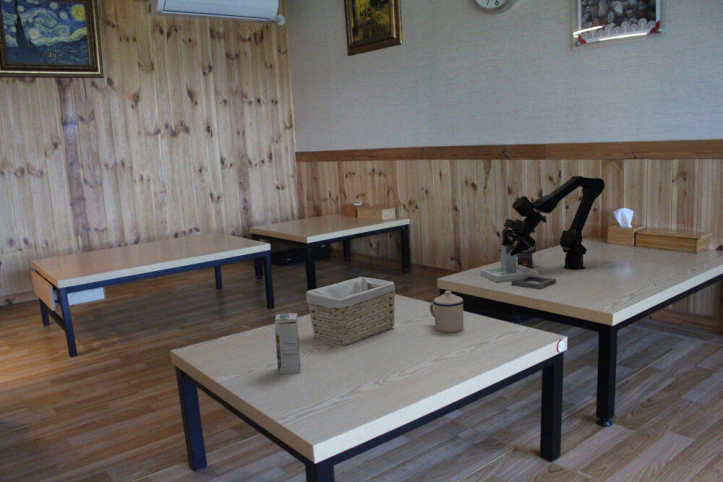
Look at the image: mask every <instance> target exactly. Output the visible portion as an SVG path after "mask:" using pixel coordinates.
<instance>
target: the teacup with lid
mask: <svg viewBox="0 0 723 482" xmlns="http://www.w3.org/2000/svg"><path fill="white" fill-rule="evenodd" d="M464 303H465V302H464V299H463V298H462V297H461V296H457V295H456V294H453V293H452V290H446V291H444V294H441V295H440V296H437V297H435V298H434V299H433V302H431V303H430V305H429V312H430V314H431V316H432V317H433V318H434V328H435V331H438V332H440V333H447V334H448V333H451V334H452V333H457V332H460V331H462V330H464V328H465V327H464V323H465V322H464Z"/></svg>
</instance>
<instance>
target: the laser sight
mask: <svg viewBox="0 0 723 482" xmlns="http://www.w3.org/2000/svg"><path fill="white" fill-rule="evenodd" d="M537 245H538V244H537V243H536V245H535V246H534V247H533V248H530V249H527V250H524V251H522V252H520V253H518V254H517V258H516V264H517V265H522V266H524V267H527V268H530V269H532V266H533V254H535V253H537ZM513 246H515V243H514V244H513Z"/></svg>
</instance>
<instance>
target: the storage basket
mask: <svg viewBox="0 0 723 482" xmlns="http://www.w3.org/2000/svg"><path fill="white" fill-rule="evenodd" d="M369 287H371V288H369ZM395 296H396V286H395V283H394V281H389V280H384V279H379V278H372V277H365V276H359V277H356V278H352V279H347V280H343V281H341V282H337V283H334V284H331V285H325V286H322V287H318V288H314V289H310V290H308V291H306V292H305V297H306V303H307V306H308V307H309V308H308V309H309V315H310V318H311V321H310V322H311V325H312V330H313V336H314V337H315V338H316V339H319V340H323V341H326V342H327V343H332V344H337V345H338V346H347V345H351V344H353V343H354V342H358V341H361V340H364V339H365V338H369V337H370V336H373V335H376V334H378V333H380V332H381V333H382V332H384V331H387V330H388V329H391V328H394V327H395Z"/></svg>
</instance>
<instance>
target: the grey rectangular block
mask: <svg viewBox="0 0 723 482" xmlns="http://www.w3.org/2000/svg"><path fill="white" fill-rule="evenodd" d="M515 246H516V245H514V246H513V245H502V246H501V245H500V246H499V247H500V248H499V249H500V250H501V253H500V267H501V275H508V274H516V265H517V254H516V255H514V256H511V255H510V253H511V252H512V250H513V249H514V247H515Z"/></svg>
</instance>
